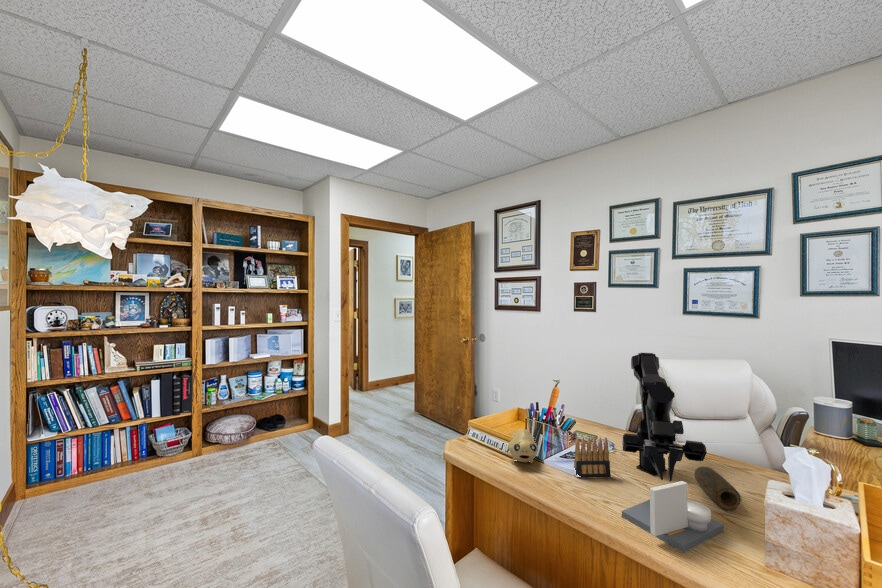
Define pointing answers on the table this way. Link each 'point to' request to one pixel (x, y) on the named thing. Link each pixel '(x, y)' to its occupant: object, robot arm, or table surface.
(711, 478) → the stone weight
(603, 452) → the ammunition clip
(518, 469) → the table surface
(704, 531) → the base board
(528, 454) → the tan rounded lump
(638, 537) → the table surface
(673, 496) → the white piece
